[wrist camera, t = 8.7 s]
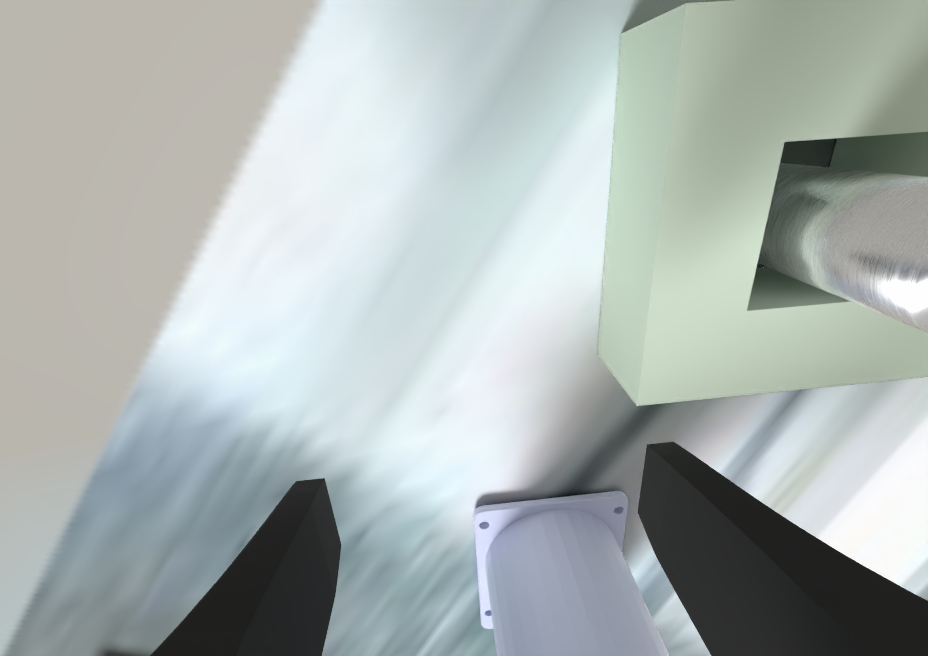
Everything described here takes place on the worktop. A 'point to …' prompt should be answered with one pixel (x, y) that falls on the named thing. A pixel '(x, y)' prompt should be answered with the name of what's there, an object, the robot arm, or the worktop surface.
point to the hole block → (750, 192)
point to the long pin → (853, 237)
